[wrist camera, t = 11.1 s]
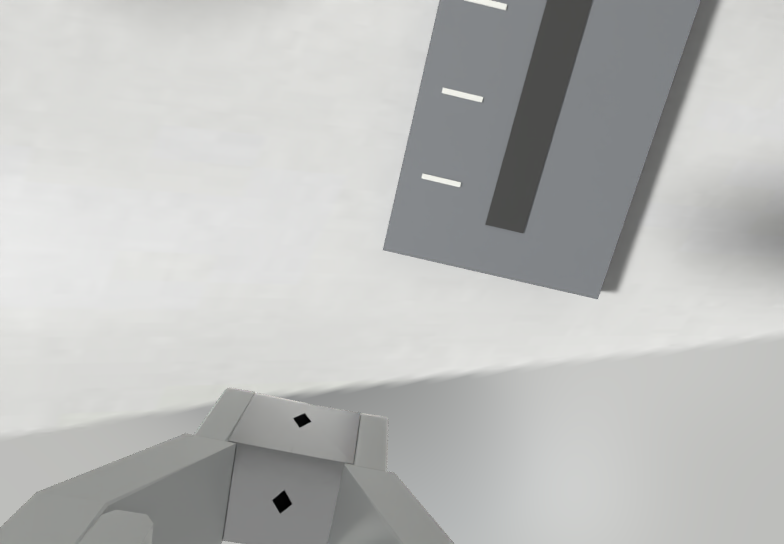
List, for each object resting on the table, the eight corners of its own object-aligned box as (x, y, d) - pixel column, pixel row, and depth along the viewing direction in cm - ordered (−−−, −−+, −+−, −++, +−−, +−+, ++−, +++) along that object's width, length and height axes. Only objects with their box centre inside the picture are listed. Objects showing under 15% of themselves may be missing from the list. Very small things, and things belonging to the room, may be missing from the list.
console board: (586, 290, 33) (598, 299, 31) (384, 244, 33) (382, 250, 31) (765, -240, 26) (796, -274, 24) (509, -307, 26) (518, -346, 24)
